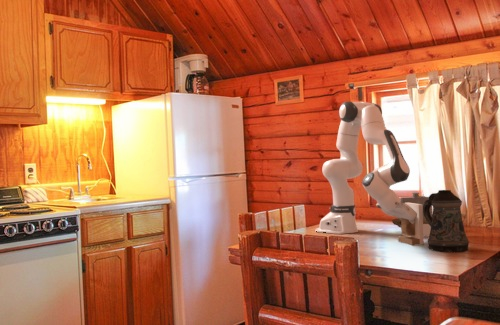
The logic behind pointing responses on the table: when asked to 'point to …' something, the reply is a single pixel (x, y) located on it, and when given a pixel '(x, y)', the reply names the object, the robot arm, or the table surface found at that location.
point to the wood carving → (425, 225)
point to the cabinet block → (407, 227)
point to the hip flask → (416, 200)
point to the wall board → (418, 236)
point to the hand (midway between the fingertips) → (409, 221)
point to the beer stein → (445, 223)
